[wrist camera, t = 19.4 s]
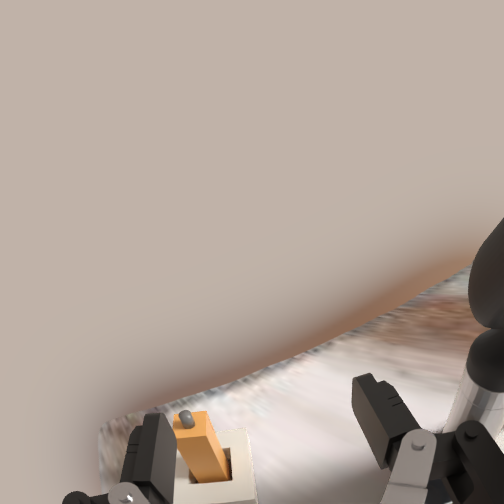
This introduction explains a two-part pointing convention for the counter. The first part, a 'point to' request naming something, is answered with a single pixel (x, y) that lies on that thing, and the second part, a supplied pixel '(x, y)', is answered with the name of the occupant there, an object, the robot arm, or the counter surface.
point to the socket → (220, 493)
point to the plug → (200, 447)
